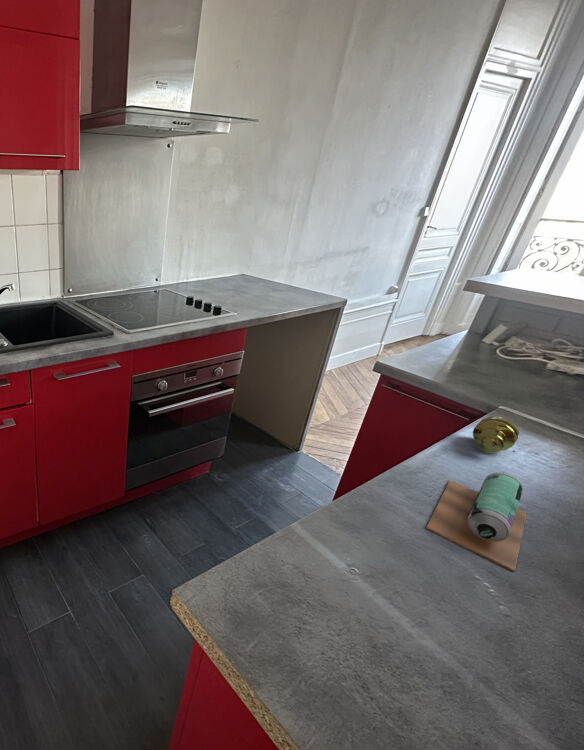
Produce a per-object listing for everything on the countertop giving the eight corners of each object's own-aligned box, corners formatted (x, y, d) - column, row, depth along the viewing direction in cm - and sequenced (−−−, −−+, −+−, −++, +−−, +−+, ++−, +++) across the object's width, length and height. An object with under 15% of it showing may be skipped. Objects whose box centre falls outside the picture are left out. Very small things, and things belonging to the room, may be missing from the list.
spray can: (478, 485, 86) (456, 533, 74) (495, 467, 83) (475, 513, 71) (511, 503, 82) (494, 555, 71) (530, 484, 79) (516, 535, 68)
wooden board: (448, 481, 88) (449, 480, 88) (526, 514, 80) (527, 512, 80) (425, 528, 76) (426, 526, 76) (513, 572, 68) (515, 570, 68)
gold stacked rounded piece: (471, 419, 103) (459, 433, 98) (509, 412, 97) (500, 426, 92) (486, 447, 102) (475, 462, 97) (526, 441, 96) (517, 457, 91)
